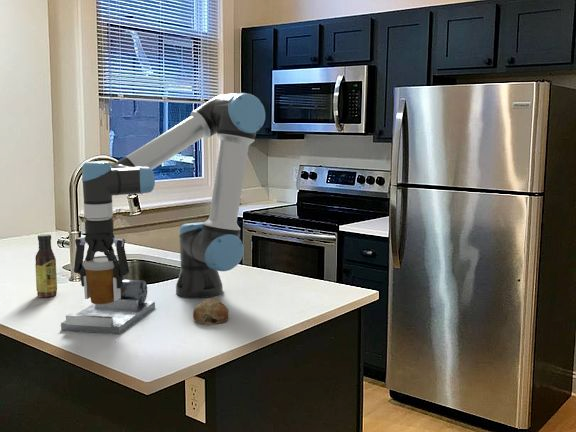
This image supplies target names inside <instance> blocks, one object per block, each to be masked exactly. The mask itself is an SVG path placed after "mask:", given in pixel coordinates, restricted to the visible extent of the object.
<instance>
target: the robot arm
mask: <svg viewBox="0 0 576 432" xmlns="http://www.w3.org/2000/svg"><path fill="white" fill-rule="evenodd" d="M189 115H190V116H188V117H187V118H186V119H184V120H182V121H181V122H179V123H178V124H175V125H174V126H173V127H171V128H170V129H168V130H166V131H165V132H163V133H162V134H160V135H159V136H156V137H155V138H154V139H152V140H150V141H149V142H146V144H144V145H142V146H141V147H139V148H138V149H136V150H134V151H133V152H131V153H129V154H127V155H126V156H124V157H123V158H121V159H119V160H118V161H116V162H111V163H110V162H109V161H107V160H106V161H104V160H102V161H86V162H84V163H83V164H82V166H81V167H82V170H81V174H82V175H81V181H82V193H83V194H82V195H83V215H84V218H85V220H84V232H85V236H84V237H82V236H80V237H78V238H76V239H74V242H75V247H76V248H75V256H74V257H75V258H74V266H73V272H74V274H78V275H80V282H81V283H80V285H81V287H83V290H84V291H83V292H84V300H89V299H91V298H90V293H89V288H88V282H87V277H86V271H85V268H84V266H83V264H84V261H85V260H86V261H90V260H92V259H93V258H94V257H95V256H96V253H97V252H99V253H103V254H104V256H107V259H108V261H113V264H114V265H115V266H114V268H113V272H114V274H115V277H113V291H114V301H117V300H119V299H120V298H121V290H120V288H122V287H123V280H124V277H125V276H126V275H128V274H129V273H130V269H129V263H128V258H127V255H126V254H127V253H126V250H125V244H126V243H125V242H126V240H125V238H117V237H115V234H114V219H113V218H112V217H113V215H114V213H113V212H114V211H113V210H114V209H113V196H123V195H138V194H139V195H143V194H149V193H152V192H153V190H154V189H155V183H156V182H155V181H156V180H155V172H154V171H153V170H154V169H156V168H157V167H159V166H160V165H162V164H164V163H165V162H167V161H168V160H170V159H171V158H173V157H174V156H176V155H177V154H179V153H181V152H182V151H184V150H186V149H187V148H189V147H190V146H192V145H193V144H195V143H196V142H198V141H200V140H202V139H203V138H205V139H208V138H210V137H212V136H214V135H216V136H217V137H218V138H219V140H220V145H219V146H220V147H219V151H218V159H217V164H216V165H217V166H216V171H215V176H214V184H213V189H212V196H211V204H210V207H209V209H210V210H209V215H208V218H207V220H205V221H200V222H191V223H184V224H181V226H179V234H178V237H179V250H180V251H179V254H180V255H179V256H180V271H179V275H178V279H177V282H176V284H175V293H176V295H177V296H179V297H183V298H188V299H190V298H191V299H203V298H212V297H214V296H217V295H221V294H222V293H223V283H222V280H221V277H220V274H219V272H228V271H231V270H233V269H234V268H235V267H237V266H238V265H240V262H241V260H242V259H243V257H244V254H245V253H244V251H245V249H244V244H243V241H242V240H241V239H240V236H241V235H240V234H241V227H240V226H239V225H238V218H239V210H240V204H241V203H240V202H241V196H242V191H243V183H244V177H245V174H246V173H245V171H246V165H247V159H248V153H249V147H250V146H251V144H253V143H254V142H255V140H256V135H257V132H258V131H260V129H261V128H262V127H264V126H263V125H264V123H265V121H266V110H265V106H264V104H263V103H262V102H261V100H260V99H259V98H258V97H257V96H255V95H253V94H252V93H247V92H237V93H222V94H219V95H217V96H214V97H212V98H211V99H209V100H208V101H206V102H204V103H203V104H202V105H200V106H198V107H197V108H196V109H194V110H192V111H191V112H190V114H189ZM86 244H87V246H88V248H87V250H86V255H85V248H86V246H85V245H86ZM113 245H114V246H115V248H116V254H115V250H114V248H113ZM116 255H117V256H116ZM84 256H85V257H84ZM114 260H116V261H114Z"/></svg>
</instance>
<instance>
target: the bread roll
mask: <svg viewBox="0 0 576 432" xmlns="http://www.w3.org/2000/svg"><path fill="white" fill-rule="evenodd" d="M229 314H230V313H229V308H228V307H227V305H225V303H223V301H221V300H218V299H216V298H212V297H209V298H206V299H205V300H203V301H201V303H199V304H197V305H196V306H195V307H194V308H193V313H192V318H193V321H195V322H196V323H197V324H199V323H200V325H203V324H206V325H205V326H211V324H214V325H219V324H224V323H227V321H228V320H229Z"/></svg>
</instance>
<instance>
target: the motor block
mask: <svg viewBox="0 0 576 432" xmlns="http://www.w3.org/2000/svg"><path fill="white" fill-rule="evenodd" d="M120 290H121V298H120V299H119V300H117V301H113V302H111V303H108V304H93V303H91V305H89V306H88V307H86V308H84V309H82V310H81V311H79V312H77V313H76V314H72V313H67V314H66V315H65V320H64V321H62V322H60V330H61V331H69V332H80V331H83V332H84V333H85V332H86V333H95V332H100V333H101V334H109V333H116V334H115V335H120V334H121V332H122V331H123V332H124V331H126V330H127V329H129V328H130V327H132V326H133V325H134V324H135V323H137V322H138V321H139V320H141V319H142V318H143V317H145V316H146V315H147V314H148V313H150V312H151V311H153V310H154V309H156V301H154V300H147V297H148V285H147V283H146V281H145V280H142V279H141V280H139V279H138V280H137V279H123V287H122V288H120ZM140 318H141V319H140ZM136 321H137V322H136ZM133 323H134V324H133ZM129 326H130V327H129ZM125 329H126V330H125ZM83 332H82V333H83ZM123 332H122V333H123ZM100 333H99V334H100Z"/></svg>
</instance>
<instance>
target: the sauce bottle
mask: <svg viewBox="0 0 576 432" xmlns="http://www.w3.org/2000/svg"><path fill="white" fill-rule="evenodd" d="M37 240H38V250H37V252H36V254H35V264H34V265H35V266H34V267H35V284H36V293H37V294H36V295H37V297H39V298H50V297H51V298H52V297H54V296H56V295H57V294H58V292H57V291H58V279H57V278H58V277H57V276H58V275H57V258H56V256H55V254H54V251H53V249H52V234H49V233H43V234H38V235H37Z"/></svg>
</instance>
